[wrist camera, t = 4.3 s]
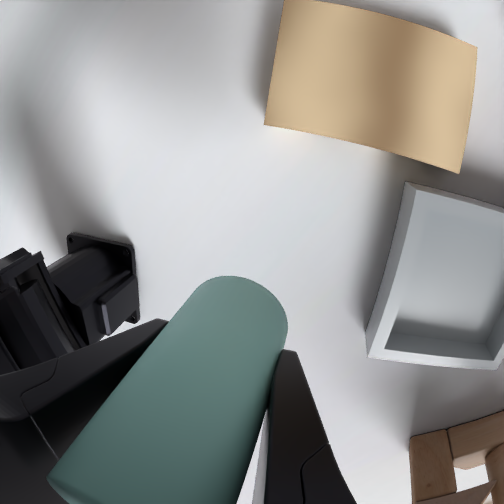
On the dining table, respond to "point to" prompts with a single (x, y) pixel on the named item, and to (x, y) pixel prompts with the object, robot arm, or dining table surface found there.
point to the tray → (442, 284)
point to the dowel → (184, 406)
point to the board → (372, 81)
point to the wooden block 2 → (458, 462)
